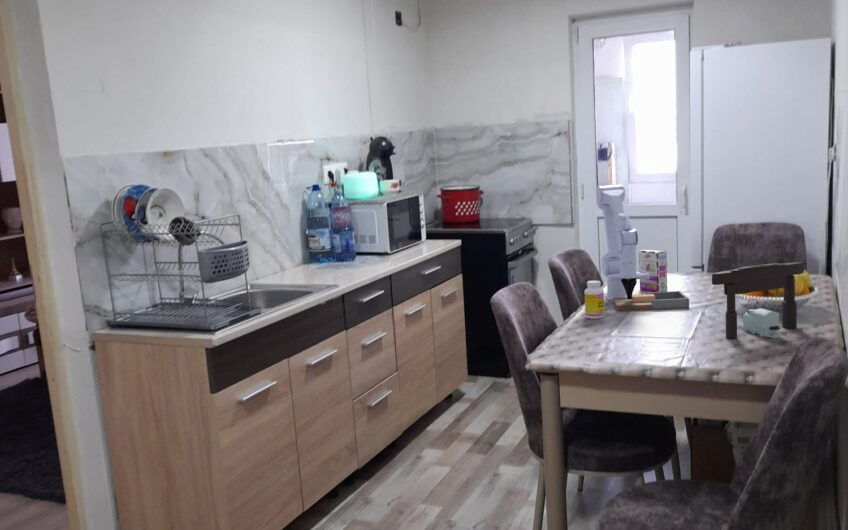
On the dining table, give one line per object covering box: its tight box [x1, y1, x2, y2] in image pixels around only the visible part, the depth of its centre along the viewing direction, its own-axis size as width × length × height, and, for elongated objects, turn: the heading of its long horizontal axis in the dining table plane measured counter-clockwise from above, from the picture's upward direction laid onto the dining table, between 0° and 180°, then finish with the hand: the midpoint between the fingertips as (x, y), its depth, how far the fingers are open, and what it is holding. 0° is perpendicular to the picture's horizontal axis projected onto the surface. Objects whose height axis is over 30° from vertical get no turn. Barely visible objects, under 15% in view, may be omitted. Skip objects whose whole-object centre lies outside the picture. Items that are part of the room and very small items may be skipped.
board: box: [611, 298, 653, 312], centre depth 285 cm, size 14×12×2 cm
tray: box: [644, 290, 690, 311], centre depth 284 cm, size 14×13×4 cm
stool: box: [711, 261, 805, 340], centre depth 237 cm, size 16×21×33 cm
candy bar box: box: [638, 248, 668, 293], centre depth 309 cm, size 11×5×16 cm, turn 25°
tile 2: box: [642, 293, 655, 302], centre depth 284 cm, size 4×4×2 cm
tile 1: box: [631, 293, 644, 302], centre depth 285 cm, size 4×4×2 cm
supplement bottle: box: [584, 280, 605, 320], centre depth 272 cm, size 7×7×13 cm
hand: (629, 299), depth 285 cm, fingers closed
